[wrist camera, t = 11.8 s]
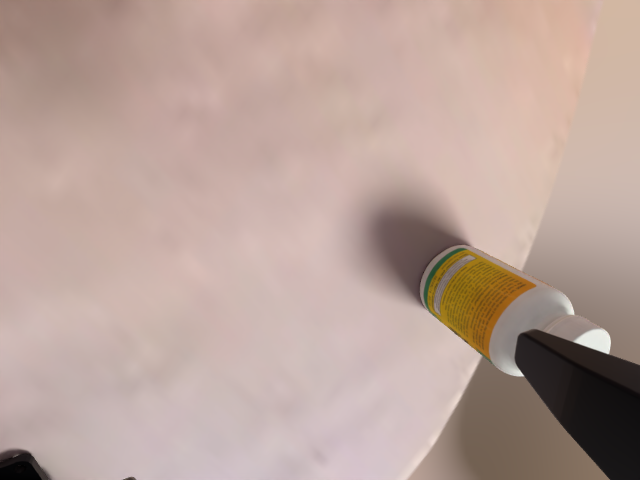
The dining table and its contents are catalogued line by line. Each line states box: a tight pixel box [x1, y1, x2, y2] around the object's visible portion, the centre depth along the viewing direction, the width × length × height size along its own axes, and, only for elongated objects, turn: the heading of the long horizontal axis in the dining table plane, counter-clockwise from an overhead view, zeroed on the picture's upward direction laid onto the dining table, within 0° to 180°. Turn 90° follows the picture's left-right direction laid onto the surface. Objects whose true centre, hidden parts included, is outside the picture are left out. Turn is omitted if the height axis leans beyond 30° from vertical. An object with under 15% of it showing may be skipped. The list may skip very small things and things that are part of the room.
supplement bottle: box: [420, 245, 611, 376], centre depth 22 cm, size 5×5×10 cm
